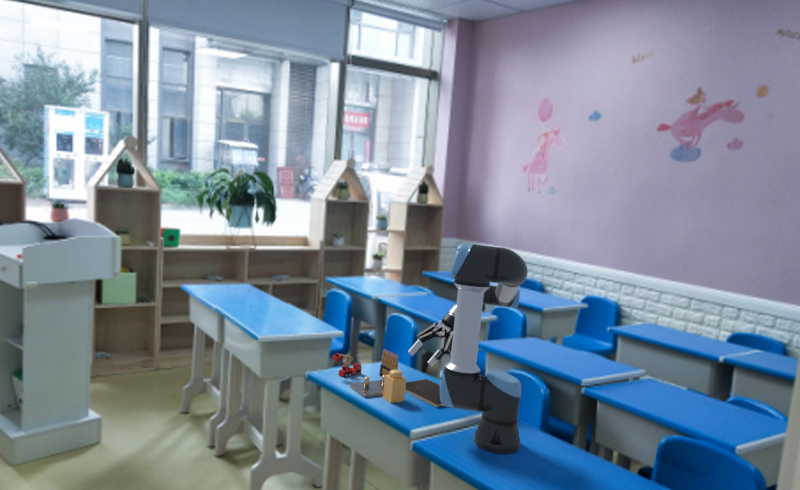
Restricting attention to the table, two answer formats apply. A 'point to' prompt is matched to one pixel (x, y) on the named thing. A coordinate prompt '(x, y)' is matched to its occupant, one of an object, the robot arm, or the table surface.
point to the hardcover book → (425, 391)
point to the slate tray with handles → (369, 387)
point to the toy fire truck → (345, 368)
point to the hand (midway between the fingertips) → (419, 359)
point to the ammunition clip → (388, 363)
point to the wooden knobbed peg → (394, 386)
